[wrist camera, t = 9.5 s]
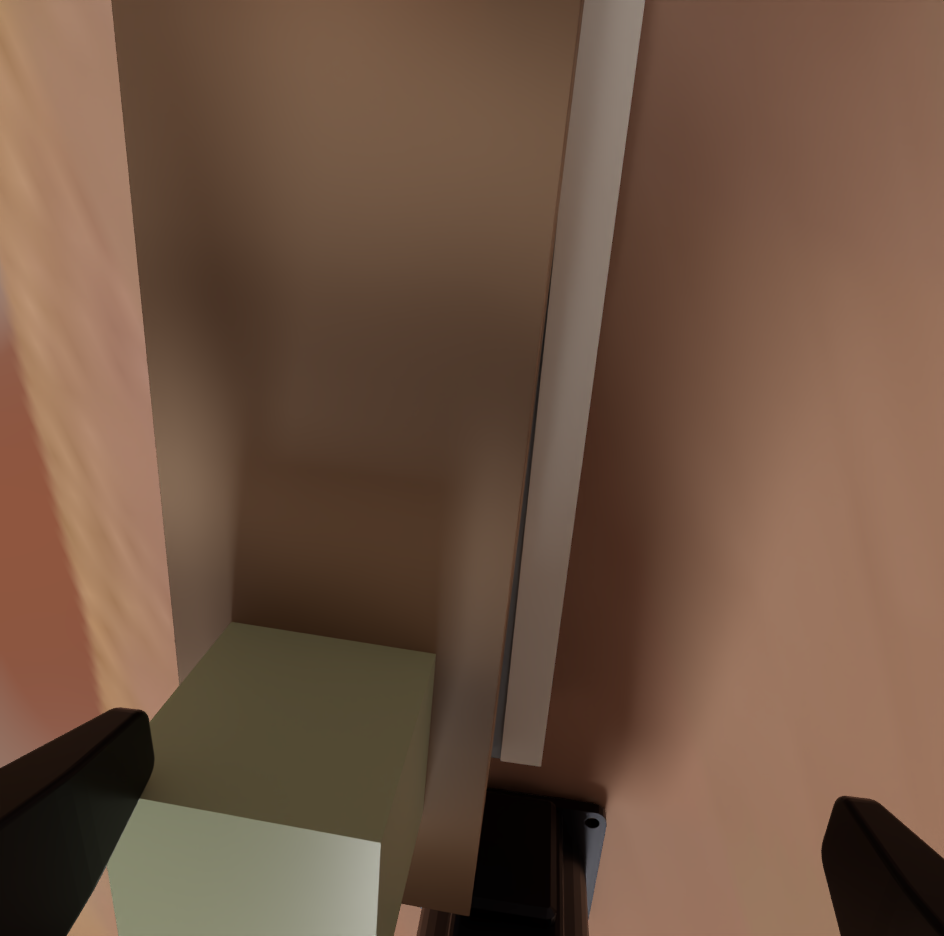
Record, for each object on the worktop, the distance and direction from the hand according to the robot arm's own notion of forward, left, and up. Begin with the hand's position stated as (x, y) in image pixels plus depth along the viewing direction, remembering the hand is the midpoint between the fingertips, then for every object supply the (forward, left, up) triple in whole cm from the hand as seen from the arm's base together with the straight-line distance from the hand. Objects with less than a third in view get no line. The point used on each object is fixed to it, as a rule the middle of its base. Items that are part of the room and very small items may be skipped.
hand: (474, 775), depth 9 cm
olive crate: (-3, +3, -4) cm, 6 cm away
